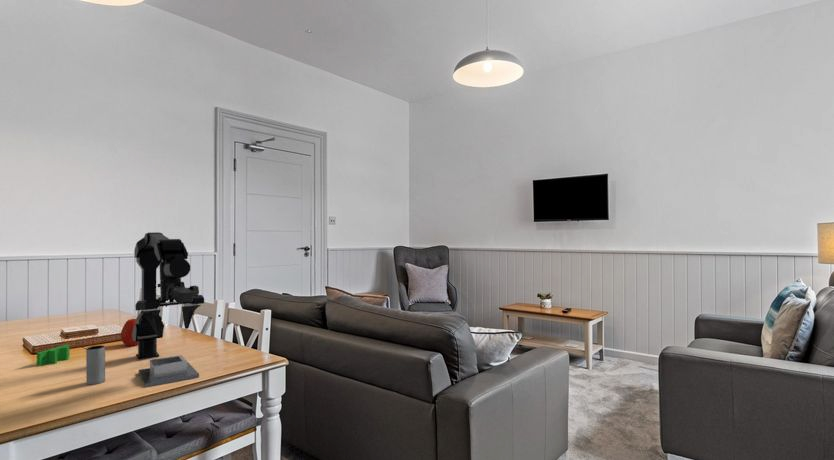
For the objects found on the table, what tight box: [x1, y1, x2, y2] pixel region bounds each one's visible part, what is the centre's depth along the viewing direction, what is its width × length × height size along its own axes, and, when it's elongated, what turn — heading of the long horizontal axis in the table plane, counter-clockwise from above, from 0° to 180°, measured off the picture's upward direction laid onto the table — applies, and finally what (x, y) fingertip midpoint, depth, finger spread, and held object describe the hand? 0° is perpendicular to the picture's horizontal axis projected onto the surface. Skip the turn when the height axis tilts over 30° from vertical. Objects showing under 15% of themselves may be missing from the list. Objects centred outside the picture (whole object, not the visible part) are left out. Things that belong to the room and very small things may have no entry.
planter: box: [85, 344, 106, 386], centre depth 134 cm, size 4×4×10 cm
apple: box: [120, 318, 139, 347], centre depth 177 cm, size 8×8×11 cm
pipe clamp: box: [36, 344, 70, 367], centre depth 156 cm, size 11×4×5 cm, turn 173°
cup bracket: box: [138, 354, 200, 388], centre depth 140 cm, size 16×14×4 cm
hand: (172, 331), depth 138 cm, fingers open, 9 cm apart
